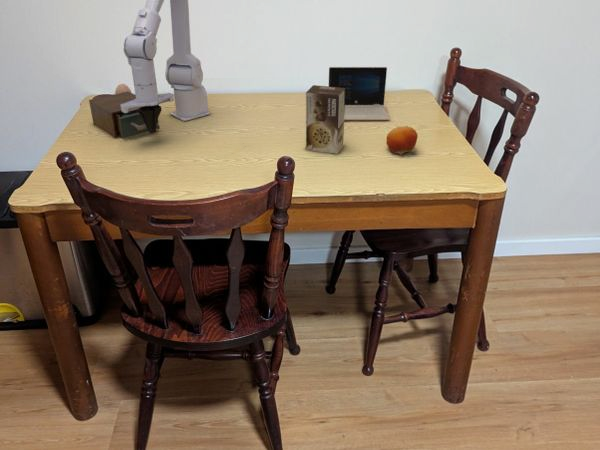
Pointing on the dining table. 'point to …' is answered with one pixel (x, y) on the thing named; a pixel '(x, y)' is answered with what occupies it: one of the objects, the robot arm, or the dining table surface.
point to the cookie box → (325, 118)
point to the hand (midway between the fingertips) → (152, 132)
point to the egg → (122, 89)
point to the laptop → (361, 91)
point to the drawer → (130, 125)
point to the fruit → (402, 139)
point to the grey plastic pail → (129, 113)
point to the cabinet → (109, 111)
